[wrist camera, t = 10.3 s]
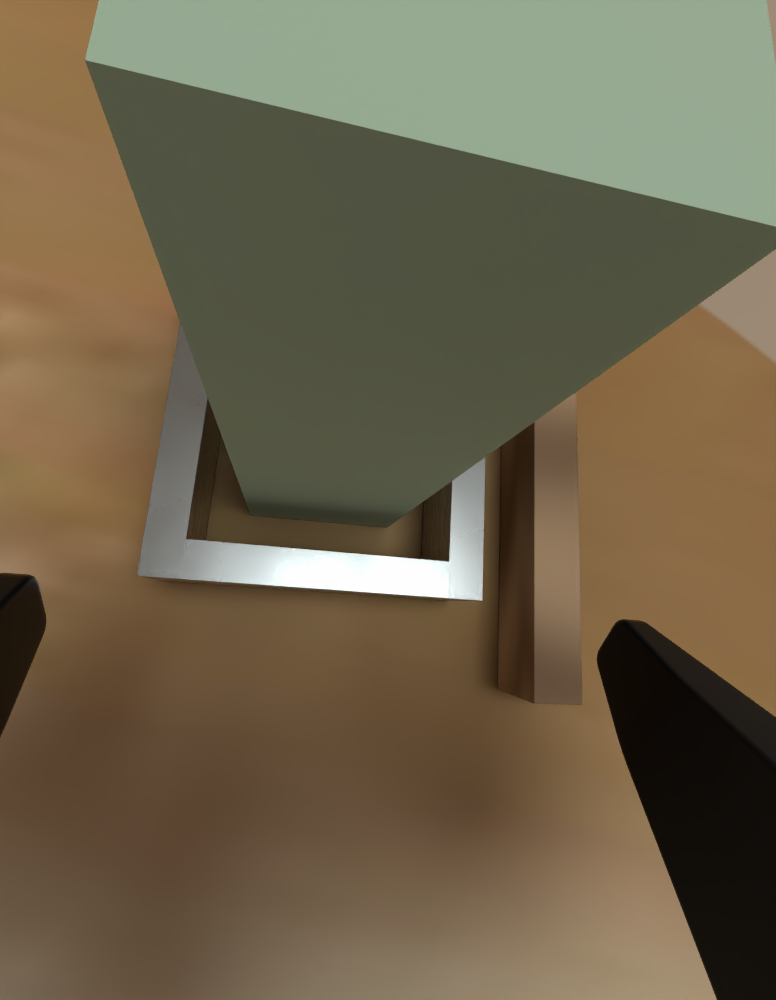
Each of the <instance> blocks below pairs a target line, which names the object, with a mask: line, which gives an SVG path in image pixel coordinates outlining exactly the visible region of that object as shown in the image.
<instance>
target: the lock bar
mask: <svg viewBox="0 0 776 1000" xmlns="http://www.w3.org/2000/svg"><path fill="white" fill-rule="evenodd" d="M85 61H86V64H87V67H88V69H89V72H90V75H91V78H92V80H93V83H94V86H95V89H96V91H97V94H98V97H99V100H100V102H101V105H102V108H103V111H104V113H105V116H106V119H107V122H108V124H109V127H110V130H111V133H112V135H113V138H114V141H115V144H116V146H117V149H118V152H119V155H120V157H121V160H122V163H123V166H124V168H125V171H126V174H127V177H128V180H129V182H130V185H131V188H132V191H133V193H134V196H135V199H136V202H137V204H138V207H139V210H140V213H141V215H142V218H143V221H144V224H145V226H146V229H147V232H148V235H149V237H150V240H151V243H152V246H153V248H154V251H155V254H156V257H157V259H158V262H159V265H160V268H161V270H162V273H163V276H164V279H165V281H166V284H167V287H168V290H169V292H170V295H171V298H172V301H173V303H174V306H175V309H176V312H177V314H178V317H179V320H180V323H181V325H182V328H183V331H184V334H185V336H186V339H187V342H188V345H189V347H190V350H191V353H192V356H193V358H194V361H195V364H196V367H197V369H198V372H199V375H200V378H201V380H202V383H203V386H204V389H205V391H206V394H207V397H208V400H209V402H210V405H211V408H212V411H213V413H214V416H215V419H216V422H217V424H218V427H219V430H220V433H221V436H222V438H223V441H224V444H225V447H226V449H227V452H228V455H229V458H230V460H231V463H232V466H233V469H234V471H235V474H236V477H237V480H238V482H239V485H240V488H241V491H242V493H243V496H244V499H245V502H246V504H247V507H248V510H249V513H250V515H251V516H262V517H274V518H285V519H296V520H308V521H319V522H331V523H342V524H353V525H365V526H376V527H388V526H390V525H391V524H393V523H394V522H395V521H397V520H398V519H400V518H401V517H402V516H404V515H405V514H407V513H408V512H409V511H411V510H412V509H414V508H415V507H416V506H418V505H419V504H421V503H422V502H423V501H425V500H426V499H428V498H429V497H430V496H432V495H433V494H435V493H436V492H437V491H439V490H440V489H442V488H443V487H444V486H446V485H447V484H448V483H450V482H451V481H453V480H454V479H455V478H457V477H458V476H460V475H461V474H462V473H464V472H465V471H467V470H468V469H469V468H471V467H472V466H474V465H475V464H476V463H478V462H479V461H481V460H482V459H483V458H485V457H486V456H488V455H489V454H490V453H492V452H493V451H495V450H496V449H497V448H499V447H500V446H502V445H503V444H504V443H506V442H507V441H508V440H510V439H511V438H513V437H514V436H515V435H517V434H518V433H520V432H521V431H522V430H524V429H525V428H527V427H528V426H529V425H531V424H532V423H534V422H535V421H536V420H538V419H539V418H541V417H542V416H543V415H545V414H546V413H548V412H549V411H550V410H552V409H553V408H555V407H556V406H557V405H559V404H560V403H562V402H563V401H564V400H566V399H567V398H569V397H570V396H571V395H573V394H574V393H575V392H577V391H578V390H580V389H581V388H582V387H584V386H585V385H587V384H588V383H589V382H591V381H592V380H594V379H595V378H596V377H598V376H599V375H601V374H602V373H603V372H605V371H606V370H608V369H609V368H610V367H612V366H613V365H615V364H616V363H617V362H619V361H620V360H622V359H623V358H624V357H626V356H627V355H629V354H630V353H631V352H633V351H634V350H635V349H637V348H638V347H640V346H641V345H642V344H644V343H645V342H647V341H648V340H649V339H651V338H652V337H654V336H655V335H656V334H658V333H659V332H661V331H662V330H663V329H665V328H666V327H668V326H669V325H670V324H672V323H673V322H675V321H676V320H677V319H679V318H680V317H682V316H683V315H684V314H686V313H687V312H689V311H690V310H691V309H693V308H694V307H696V306H697V305H698V304H700V303H701V302H702V301H704V300H705V299H707V298H708V297H709V296H711V295H712V294H714V293H715V292H716V291H718V290H719V289H720V288H722V287H723V286H725V285H726V284H727V283H729V282H730V281H732V280H733V279H735V278H736V277H737V276H738V275H740V274H742V273H743V272H744V271H746V270H747V269H749V268H750V267H751V266H753V265H754V264H755V263H757V262H758V261H760V260H761V259H762V258H764V257H765V256H767V255H768V254H769V253H771V252H772V251H774V250H775V249H776V64H775V58H774V51H773V43H772V36H771V29H770V22H769V15H768V8H767V2H766V0H99V3H98V7H97V12H96V16H95V20H94V24H93V29H92V33H91V37H90V41H89V45H88V50H87V54H86V58H85Z"/></svg>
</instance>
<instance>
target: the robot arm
mask: <svg viewBox="0 0 776 1000" xmlns="http://www.w3.org/2000/svg"><path fill="white" fill-rule="evenodd" d="M45 627H46V614H45V610H44V605H43V601H42V597H41V593H40V588H39V584H38V581H37V580H36V578H35V577H34V576H31V575H27V574H13V573H0V737H1V734H2V732H3V730H4V728H5V725H6V723H7V721H8V719H9V716H10V714H11V711H12V709H13V707H14V704H15V702H16V699H17V697H18V695H19V692H20V690H21V687H22V685H23V683H24V680H25V678H26V675H27V673H28V671H29V668H30V666H31V663H32V661H33V659H34V656H35V654H36V651H37V649H38V646H39V644H40V642H41V639H42V637H43V634H44V631H45ZM597 664H598V669H599V672H600V676H601V679H602V683H603V686H604V690H605V694H606V697H607V701H608V704H609V708H610V711H611V715H612V718H613V722H614V726H615V729H616V733H617V736H618V740H619V743H620V746H621V749H622V753H623V755H624V758H625V761H626V764H627V766H628V769H629V772H630V774H631V777H632V780H633V782H634V785H635V787H636V790H637V793H638V795H639V798H640V800H641V803H642V806H643V808H644V811H645V813H646V816H647V819H648V821H649V824H650V826H651V829H652V832H653V834H654V837H655V840H656V842H657V845H658V847H659V850H660V853H661V855H662V858H663V860H664V863H665V866H666V868H667V871H668V873H669V876H670V879H671V881H672V884H673V886H674V889H675V892H676V894H677V897H678V899H679V902H680V905H681V907H682V910H683V912H684V915H685V918H686V920H687V923H688V926H689V928H690V931H691V933H692V936H693V939H694V941H695V944H696V946H697V949H698V952H699V954H700V957H701V959H702V962H703V965H704V967H705V970H706V972H707V975H708V978H709V980H710V983H711V985H712V988H713V991H714V993H715V996H716V999H717V1000H776V717H775V716H773V715H772V714H770V713H769V712H768V711H766V710H765V709H764V708H762V707H761V706H760V705H758V704H757V703H755V702H754V701H753V700H751V699H750V698H749V697H747V696H746V695H744V694H743V693H742V692H740V691H739V690H738V689H736V688H735V687H733V686H732V685H731V684H729V683H728V682H727V681H725V680H724V679H722V678H721V677H720V676H718V675H717V674H716V673H714V672H713V671H712V670H710V669H709V668H707V667H706V666H705V665H703V664H702V663H701V662H699V661H698V660H696V659H695V658H694V657H692V656H691V655H690V654H688V653H687V652H685V651H684V650H683V649H681V648H680V647H679V646H677V645H676V644H675V643H673V642H672V641H670V640H669V639H668V638H666V637H665V636H664V635H662V634H661V633H659V632H658V631H657V630H655V629H654V628H653V627H651V626H650V625H648V624H647V623H645V622H643V621H639V620H625V619H623V620H619V621H618V622H616V623H615V624H614V626H613V627H612V629H611V631H610V632H609V634H608V636H607V637H606V639H605V641H604V642H603V644H602V645H601V647H600V649H599V651H598V654H597Z"/></svg>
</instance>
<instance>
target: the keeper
mask: <svg viewBox="0 0 776 1000" xmlns="http://www.w3.org/2000/svg"><path fill="white" fill-rule="evenodd" d="M220 435H221V433H220V430H219V427H218V424H217V422H216V419H215V416H214V413H213V411H212V408H211V405H210V402H209V400H208V397H207V394H206V391H205V389H204V386H203V383H202V380H201V378H200V375H199V372H198V369H197V367H196V364H195V361H194V358H193V356H192V353H191V350H190V347H189V345H188V342H187V339H186V336H185V334H184V331H183V328H182V325H181V323H180V327H179V333H178V339H177V345H176V351H175V356H174V362H173V368H172V374H171V380H170V386H169V391H168V397H167V403H166V409H165V415H164V421H163V426H162V432H161V438H160V444H159V450H158V455H157V461H156V467H155V473H154V479H153V485H152V490H151V496H150V502H149V508H148V514H147V520H146V525H145V531H144V537H143V543H142V549H141V554H140V560H139V566H138V572H137V576H141V577H146V578H152V579H157V580H162V581H173V582H187V583H201V584H215V585H230V586H244V587H258V588H272V589H286V590H300V591H315V592H329V593H343V594H357V595H371V596H385V597H400V598H414V599H428V600H442V601H482V584H483V540H484V496H485V458H483V459H482V460H481V461H479V462H478V463H476V464H475V465H474V466H472V467H471V468H469V469H468V470H467V471H465V472H464V473H462V474H461V475H460V476H458V477H457V478H455V479H454V480H453V481H451V482H450V483H448V484H447V485H446V486H444V487H443V488H442V489H440V490H439V491H437V492H436V493H435V494H433V495H432V496H430V497H429V498H428V499H426V500H425V501H424V511H423V531H422V551H421V559H412V558H400V557H389V556H377V555H366V554H354V553H342V552H331V551H319V550H308V549H296V548H284V547H273V546H261V545H250V544H238V543H226V542H215V541H205V539H206V532H207V525H208V519H209V512H210V505H211V498H212V491H213V484H214V477H215V470H216V463H217V456H218V449H219V442H220Z"/></svg>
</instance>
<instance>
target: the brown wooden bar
mask: <svg viewBox="0 0 776 1000" xmlns="http://www.w3.org/2000/svg"><path fill="white" fill-rule="evenodd" d="M498 689H499V690H502V691H504V692H507V693H509V694H512V695H514V696H517V697H519V698H522V699H524V700H527V701H529V702H532V703H534V704H563V705H582V669H581V617H580V565H579V512H578V460H577V408H576V392H575V393H574V394H573V395H571V396H570V397H569V398H567V399H566V400H564V401H563V402H562V403H560V404H559V405H557V406H556V407H555V408H553V409H552V410H550V411H549V412H548V413H546V414H545V415H543V416H542V417H541V418H539V419H538V420H536V421H535V422H534V423H532V424H531V425H529V426H528V427H527V428H525V429H524V430H522V431H521V432H520V433H518V434H517V435H515V436H514V437H513V438H511V439H510V440H508V441H507V442H506V443H504V444H503V445H502V446H501V511H500V576H499V641H498Z"/></svg>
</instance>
